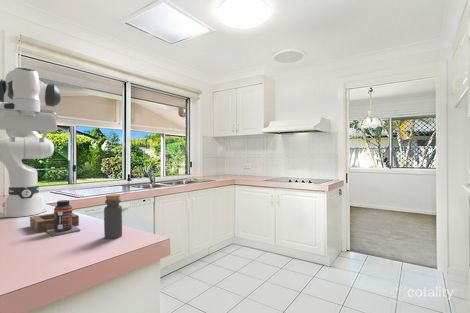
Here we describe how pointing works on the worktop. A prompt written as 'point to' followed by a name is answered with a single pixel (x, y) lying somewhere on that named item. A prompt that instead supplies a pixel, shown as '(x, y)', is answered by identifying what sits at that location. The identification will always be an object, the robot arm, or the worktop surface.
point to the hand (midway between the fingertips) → (27, 142)
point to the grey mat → (56, 233)
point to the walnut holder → (48, 222)
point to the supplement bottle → (63, 216)
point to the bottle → (113, 217)
